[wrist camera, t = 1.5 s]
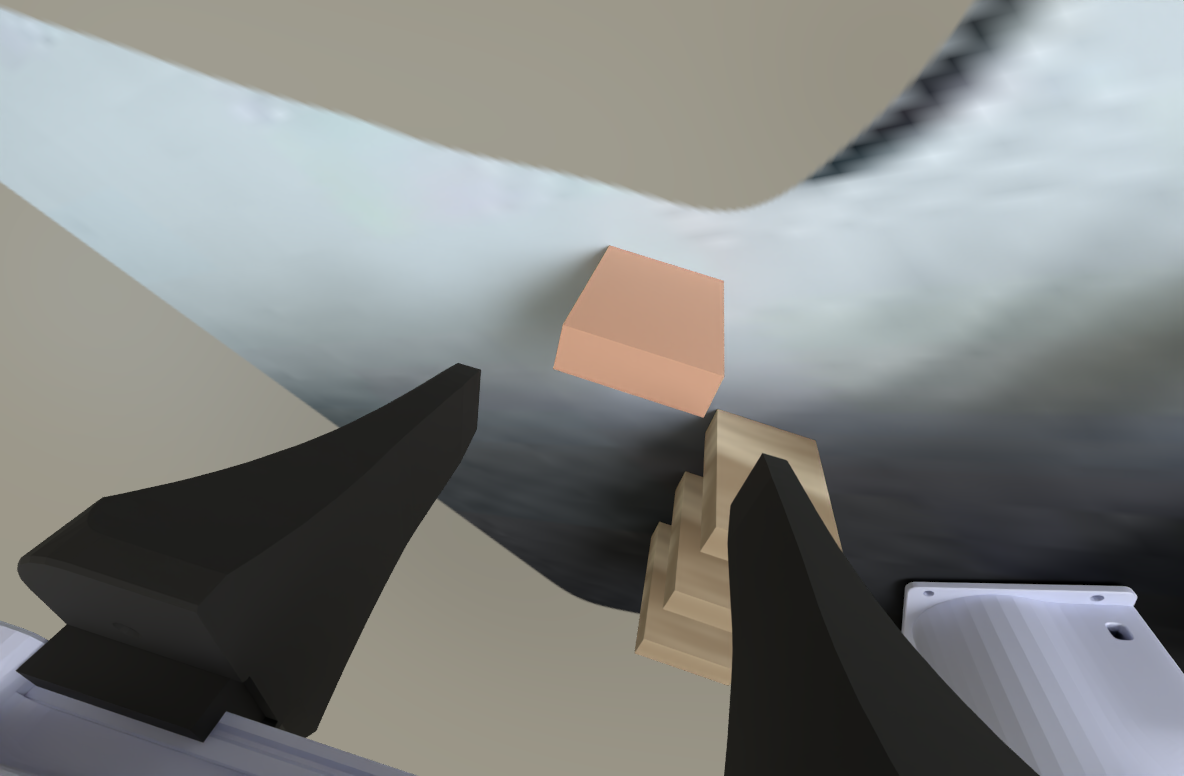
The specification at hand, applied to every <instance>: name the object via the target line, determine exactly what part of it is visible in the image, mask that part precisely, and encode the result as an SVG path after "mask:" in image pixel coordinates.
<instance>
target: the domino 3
mask: <svg viewBox="0 0 1184 776" xmlns="http://www.w3.org/2000/svg"><path fill="white" fill-rule="evenodd" d="M762 453H765V454H768V455H771V456H775V457H778V458H781V459H785V460H787V461H788V463H789V464H790V466H791V467H792V469H793V471H794V473H795V474H796V476H797V478H798V479H799V481H800V483H801V485H802V486H803V488H804V490H805V492H806V493H807V495H808V497H809V499H810V500H811V502H812V504H813V505H814V507H815V509H816V511H817V512H818V514H819V516H820V517H821V519H822V521H823V522H824V524H825V526H826V527H827V529H828V530H829V532H830V534H831V535H832V537H833V538H834V540H835V542H836V543H837V545H838V546H839V548H840V549H841V551H842V548H841V544H840V540H839V535H838V531H837V527H836V523H835V519H834V515H833V511H832V506H831V502H830V498H829V494H828V490H827V486H826V482H825V477H824V473H823V469H822V465H821V461H820V457H819V453H818V448H817V444H816V441H815V440H812V439H809V438H806V437H803V436H800V435H796V434H793V433H790V432H787V431H784V430H781V429H778V428H775V427H772V426H769V425H766V424H762V423H759V422H756V421H753V420H750V419H747V418H744V417H741V416H738V415H735V414H731V413H728V412H725V411H722V410H719V409H717V411H716V413H715V415H714V417H713V419H712V421H711V423H710V425H709V427H708V429H707V430H706V432H705V450H704V473H703V495H702V518H701V541H700V552H703V553H706V554H709V555H712V556H715V557H718V558H721V559H723V560H726V561H728V546H727V541H728V526H729V515H730V505H731V503H732V502H733V500H734V498H735V497H736V495H737V493H738V492H739V490H740V489H741V487H742V485H743V484H744V482H745V480H746V479H747V477H748V476H749V474H750V472H751V471H752V469H753V467H754V466H755V464H756V462H757V461H758V459H759V458H760V456H761V454H762Z"/></svg>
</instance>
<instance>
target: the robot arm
mask: <svg viewBox="0 0 1184 776" xmlns="http://www.w3.org/2000/svg"><path fill="white" fill-rule="evenodd" d="M480 376H481V370H480V369H477V368H473V367H470V366H466V365H463V364H460V363H457V364H455V365H453V366H452V367H450V368H448V369H446V370H445V371H443V372H441V373H440V374H438V375H436V376H435V377H433V378H431V379H430V380H428V381H426V382H425V383H423V384H421V385H420V386H418V387H416V388H415V389H413V390H411V391H410V392H408V393H406V394H404V395H402V396H401V397H399V398H397V399H395V400H394V401H392V402H390V403H388V404H387V405H385V406H383V407H381V408H379V409H377V410H375V411H373V412H371V413H369V414H367V415H365V416H363V417H361V418H359V419H357V420H355V421H353V422H351V423H349V424H347V425H345V426H343V427H341V428H338V429H337V430H334V431H332V432H329V433H327V434H324V435H322V436H320V437H317V438H315V439H312V440H310V441H307V442H305V443H302V444H300V445H297V446H294V447H291V448H288V449H285V450H282V451H279V452H276V453H274V454H271V455H268V456H265V457H262V458H259V459H256V460H253V461H250V462H247V463H244V464H240V465H237V466H234V467H230V468H227V469H223V470H220V471H216V472H212V473H209V474H205V475H201V476H197V477H194V478H190V479H185V480H182V481H178V482H174V483H169V484H164V485H159V486H155V487H151V488H146V489H141V490H137V491H132V492H127V493H123V494H118V495H113V496H108V497H103V498H101V499H100V500H99V501H97V502H96V503H94V504H93V505H92V506H90V507H89V508H87V509H86V510H85V511H84V512H82V513H81V514H79V515H78V516H77V517H75V518H74V519H73V520H71V521H70V522H69V523H67V524H66V525H65V526H63V527H62V528H61V529H59V530H58V531H56V532H55V533H54V534H53V535H51V536H50V537H48V538H47V539H46V540H44V541H43V542H42V543H40V544H39V545H38V546H36V547H35V548H34V549H32V550H31V551H30V552H28V553H27V554H26V555H24V556H23V557H21V559H20V560H19V563H18V568H17V570H18V573H19V576H20V578H21V580H22V581H23V582H24V583H25V584H26V585H27V586H28V587H29V588H30V590H31V591H33V592H34V593H35V594H36V595H37V596H38V597H39V598H40V599H41V600H42V601H43V602H44V603H45V604H46V605H47V606H48V607H49V608H50V609H51V610H52V611H54V612H55V613H56V614H57V615H58V616H59V617H60V618H61V619H62V620H63V621H64V622H65V623H66V624H67V625H66V626H65V627H64V628H62V629H61V630H60V631H59V632H58V633H57V634H56V635H55V636H54V637H53V638H51V639H50V640H49V641H48V640H47V639H45V638H43V637H41V636H40V635H38V634H36V633H34V632H31V631H28V630H26V629H24V628H20V627H17V626H15V625H12V624H9V623H6V622H3V621H0V776H416V775H414V774H411V773H407V772H405V771H402V770H399V769H396V768H393V767H390V766H387V765H384V764H381V763H378V762H375V761H372V760H369V759H366V758H363V757H360V756H357V755H354V754H351V753H348V752H345V751H342V750H339V749H336V748H333V747H330V746H327V745H324V744H322V743H318V742H315V741H313V740H310V739H307V738H306V737H308V736H309V735H311V734H312V733H314V732H315V731H316V730H317V728H318V726H319V723H320V721H321V719H322V716H323V714H324V712H325V710H326V707H327V705H328V703H329V701H330V699H331V696H332V694H333V692H334V690H335V688H336V685H337V683H338V681H339V679H340V677H341V675H342V672H343V670H344V668H345V666H346V664H347V662H348V659H349V657H350V655H351V653H352V651H353V649H354V647H355V645H356V643H357V641H358V639H359V637H360V635H361V632H362V630H363V628H364V626H365V624H366V622H367V620H368V618H369V616H370V614H371V612H372V610H373V608H374V606H375V604H376V602H377V600H378V598H379V596H380V594H381V592H382V590H383V588H384V586H385V584H386V583H387V581H388V579H389V577H390V575H391V573H392V571H393V569H394V567H395V565H396V564H397V562H398V560H399V558H400V556H401V554H402V552H403V550H404V548H405V547H406V545H407V543H408V542H409V540H410V538H411V537H412V535H413V533H414V532H415V530H416V529H417V527H418V526H419V524H420V523H421V521H422V520H423V518H424V517H425V515H426V514H427V512H428V511H429V509H430V508H431V506H432V504H433V503H434V502H435V500H436V499H437V497H438V496H439V494H440V493H441V491H442V490H443V488H444V487H445V485H446V484H447V482H448V481H449V479H450V478H451V476H452V474H453V473H454V471H455V470H456V468H457V467H458V465H459V464H460V462H461V460H462V458H463V456H464V454H465V452H466V450H467V448H468V446H469V444H470V442H471V440H472V438H473V436H474V434H475V432H476V430H477V420H478V405H479V391H480ZM727 546H728V567H729V586H730V603H731V620H732V672H731V695H730V709H729V724H728V739H727V751H726V762H725V772H724V776H1184V674H1183V672H1182V671H1181V670H1180V668H1179V667H1178V666H1177V664H1176V663H1175V662H1174V660H1173V659H1172V658H1171V656H1170V655H1169V654H1168V652H1167V651H1166V650H1165V648H1164V647H1163V646H1162V644H1161V643H1160V641H1159V640H1158V639H1157V637H1156V636H1155V635H1154V633H1153V632H1152V631H1151V629H1150V628H1149V627H1148V625H1147V624H1146V623H1145V621H1144V620H1143V619H1142V617H1141V616H1140V615H1139V613H1138V612H1137V611H1136V609H1135V608H1134V607H1133V605H1134V603H1135V601H1136V599H1137V595H1136V594H1135V593H1134V591H1133V590H1132V589H1131V588H1129V587H1126V586H1101V585H1052V584H1003V583H954V582H911V583H908V584H907V585H906V586H905V594H904V606H903V618H902V630H901V631H900V630H899V629H898V627H897V626H896V625H895V624H894V622H893V621H892V620H891V619H890V617H889V616H888V615H887V613H886V612H885V611H884V610H883V608H882V607H881V606H880V604H879V603H878V602H877V601H876V599H875V598H874V597H873V595H872V594H871V593H870V591H869V590H868V589H867V587H866V586H865V585H864V583H863V582H862V580H861V579H860V577H859V576H858V574H857V573H856V572H855V570H854V569H853V567H852V566H851V564H850V563H849V561H848V560H847V558H846V557H845V556H844V554H843V552H842V551H841V549H840V548H839V546H838V545H837V543H836V542H835V540H834V538H833V537H832V535H831V534H830V532H829V530H828V529H827V527H826V526H825V524H824V522H823V521H822V519H821V517H820V516H819V514H818V512H817V511H816V509H815V507H814V505H813V504H812V502H811V500H810V499H809V497H808V495H807V493H806V492H805V490H804V488H803V486H802V485H801V483H800V481H799V479H798V478H797V476H796V474H795V473H794V471H793V469H792V467H791V466H790V464H789V463H788V461H787V460H785V459H781V458H778V457H775V456H771V455H768V454H765V453H762V454H761V456H760V458H759V459H758V461H757V462H756V464H755V466H754V467H753V469H752V471H751V472H750V474H749V476H748V477H747V479H746V480H745V482H744V484H743V485H742V487H741V489H740V490H739V492H738V493H737V495H736V497H735V498H734V500H733V502H732V503H731V505H730V515H729V526H728V541H727Z"/></svg>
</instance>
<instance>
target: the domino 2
mask: <svg viewBox="0 0 1184 776" xmlns="http://www.w3.org/2000/svg"><path fill="white" fill-rule="evenodd" d="M671 527H672V526H671V525H668V524H665V523H662V522H659V523H658V525H657V527H656V529H655V531H654V533H653V535H652V537H651V543H650V550H649V556H648V563H647V570H646V577H645V584H644V591H643V598H642V605H641V612H640V619H639V627H638V633H637V640H636V647H635V653H636V654H638V655H641V656H644V657H647V658H650V659H653V660H656V661H659V662H662V663H665V664H668V665H670V666H673V667H676V668H679V669H682V670H684V671H687V672H691V673H693V674H696V675H699V676H702V677H705V678H708V679H710V680H714V681H716V682H719V683H722V684H725V685H730V684H731V672H732V633H731V632H728V631H725V630H723V629H720V628H717V627H714V626H711V625H708V624H705V623H702V622H699V621H696V620H694V619H691V618H688V617H685V616H682V615H679V614H676V613H673V612H670V611H667V610H664V609H663V602H664V592H665V583H666V574H667V565H668V555H669V546H670V537H671Z"/></svg>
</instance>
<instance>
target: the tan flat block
mask: <svg viewBox="0 0 1184 776" xmlns="http://www.w3.org/2000/svg"><path fill="white" fill-rule="evenodd" d="M702 495H703V477H701V476H698V475H695V474H692V473H689V472H686V471H685V473H684V475H683V477H682V479H681V481H680V483H679V485H678V486H677V488H676V490H675V499H674V509H673V518H672V527H671V537H670V546H669V555H668V565H667V574H666V583H665V592H664V602H663V609H664V610H667V611H670V612H673V613H676V614H679V615H682V616H685V617H688V618H691V619H694V620H696V621H699V622H702V623H705V624H708V625H711V626H714V627H717V628H720V629H723V630H725V631H728V632H731V633H732V620H731V603H730V586H729V567H728V561H726V560H723V559H721V558H718V557H715V556H712V555H709V554H706V553H703V552H700V541H701V518H702Z"/></svg>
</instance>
